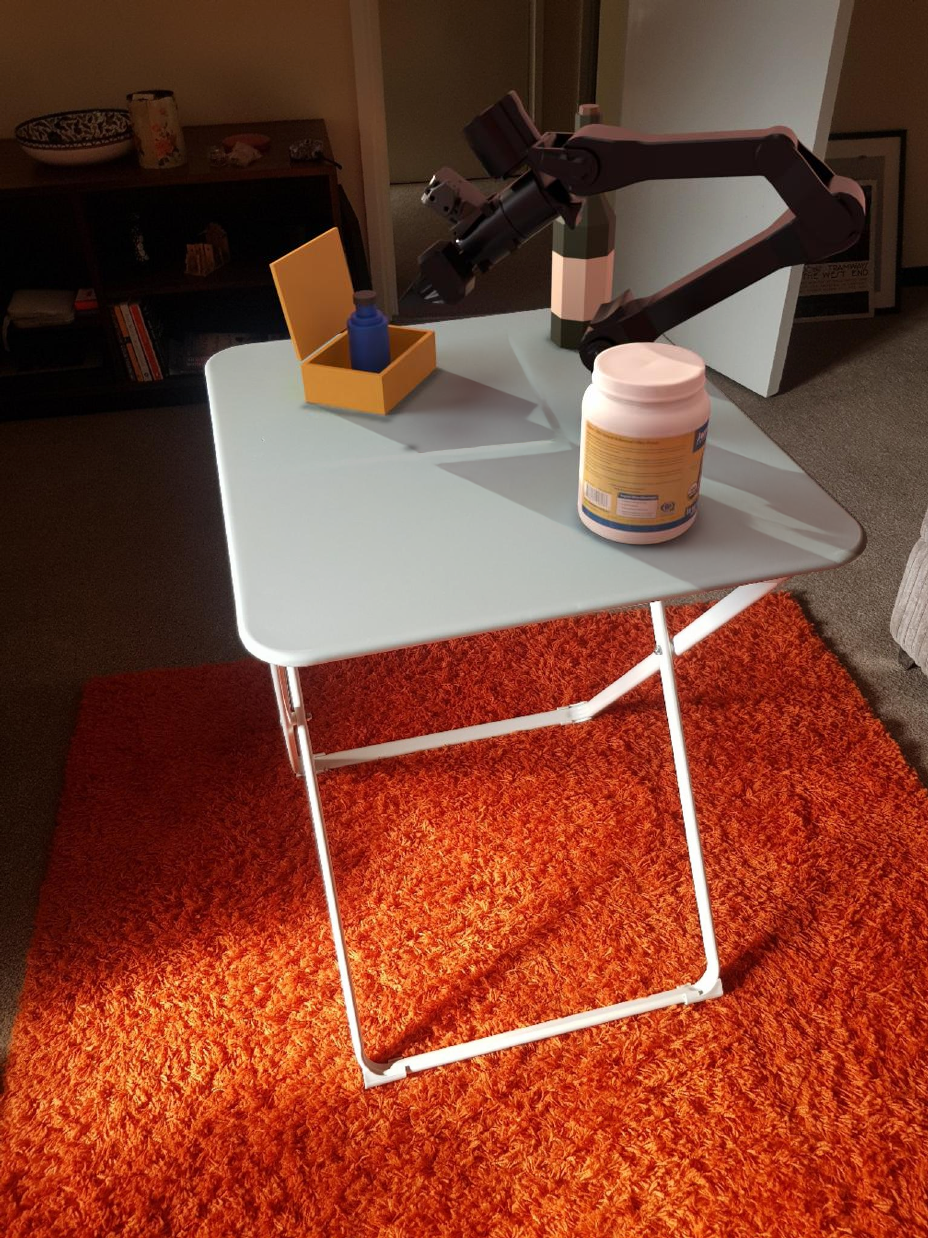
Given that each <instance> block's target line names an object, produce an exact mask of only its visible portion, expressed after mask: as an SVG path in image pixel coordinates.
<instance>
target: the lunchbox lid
mask: <svg viewBox="0 0 928 1238" xmlns="http://www.w3.org/2000/svg"><path fill="white" fill-rule="evenodd" d="M269 268H270V270H271V274H272V278H273V281H274V286H275V288H276V291H277V295H278V299H279V302H280V305H281V308H282V312H283V314H284V319H285V322H286V325H287V328H288V332H289V336H290V338H291V343H292V345H293V349H294V352H295V355H296V356H295V357H296V359H297V361H298V362H304V361H305V360H306V359H308V358H309V357H310V356H312V355H313V354H315V353H316V352H317V351H319V350H320V348H323V347H324V345H327V344H328V343H329V341H330V342H331V341H332V340H333V339H335V338H336V337H337V336H339V335H340V334H342V333H343V332H344V331H346V330H347V320H348V319H349V318H350V317H351V313H352V312H354V311H356V309H355V305H354V303H353V294H354V293H355V291H354V288H353V284H352V280H351V276H350V272H349V268H348V263H347V259H346V255H345V252H344V247H343V244H342V241H341V237H340V232H339V228H338V227H332V228H331V229H329V230H327V231H325V232H324V233H322V234H320V235H319V236H316V237H315V238H313V239H312V240H310V241H308V242H306V243H305V244H303V245H301V246H300V247H298V248H296V249H294V250H292V251H291V252H289V253H286V255H284V256H282V257H280V258H279V259H277V260H275V261H273V262H272V263H270V264H269Z"/></svg>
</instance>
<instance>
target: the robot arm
mask: <svg viewBox="0 0 928 1238" xmlns="http://www.w3.org/2000/svg"><path fill="white" fill-rule="evenodd" d="M458 132H459V134H460V136H461V137H462V139H463V140H464V142H465V143H466V145H467V146H468V147H469V149H470V150H471V152H472V153H473V155H474V157H475V158H476V160H477V161H478V162H479V164H480V166H481V167H482V168H483V170H484V171H485V173H486V175H487V176H488V177H489V179H492V178H494V180H495V181H497V180H499V179H500V178H501V179H502V181H503V182H505V181H506V180H508V179H510V178H511V177H512V176H513V175H514V174H516V173H517V172H518V171H519V170H521V169H522V168H523V167H524V166H525V165H527V166H528V168H529V169H527V171H526V172H524V173H523V174H521V175H520V176H519V177H517V179H515V180H514V181H513V182H511V183H510V184H509V185H508V186H507V187H506V188H504V189H502V190H501V191H499V192H496V191H494V192H493V193H492V194H490V195H489V196H488V197H486V196H485V195H484V194H483V193H482V192H481V191H479V189H478V188H477V187H476V186H475V185H473V184H472V183H471V182H469V181H468V180H467V179H465V178H464V177H463V176H461V175H460V174H458V172H456V171H455V170H453V169H452V168H451V167H448V166H444V167H442V168H440V170H438V171H436V172H435V173H434V174H433V177H432V178H431V180H430V182H429V184H428V185H426V186H425V188H424V190H423V192H424V193H423V195H422V196H421V199H420V200H421V203H422V204H423V205H424V206H425V207H427V208H428V209H431V210H432V211H434V212H435V213H437V214H438V215H439V216H440V217H442V218H443V219H445V220H447V221H448V222H450V223H451V224H454V225H453V226H452V227H451V228H449V231H450V233H451V234H452V235H453V237H452V241H451V240H447V239H442V238H439V239H438V240H437V241H436V242H434V243H433V244H432V245H430V246H429V247H428V248H427V249H426V250H425V251H423V252H421V254H420V255H419V256H417V265H418V268H419V275H418V276H417V277H416V279H414V281H413V282H412V283H411V284H410V286H409V287H408V288H407V290H406V291H404V293H403V294H402V295H401V297H400V298H399V299H398V300H397V304H398V305H399V307H400V308H401V309H402V310H410V309H417V308H423V307H430V306H431V307H432V306H442V305H443V306H444V305H446V306H450V307H452V308H453V307H454V306H456V305H457V304H459V303H460V302H462V301H463V300H464V299H465V298H467V296H468V295H469V294H470V293H471V292H472V290H473V289H474V288H475V283H476V275H475V272H474V271H480V273H481V275H485V274H487V273H488V272H489V271H490V270H491V269H492V268H493V267H494V266H495V265H496V264H497V263H499V262H500V261H502V259H504V258H505V257H506V256H508V255H510V254H511V255H512V254H514V253H516V252H517V251H518V250H519V249H521V247H522V246H523V244H525V243H526V242H527V241H528V240H530V239H531V238H532V237H534V236H535V235H537V234H538V233H539V232H541V231H542V230H543V229H544V228H547V227H548V226H549V225H550V224H553V221H554V220H556V219H557V218H558V217H560V216H561V217H562V219H563V220H564V222H565V223H566V225H567V226H568V228H569V229H570V230H574V229H575V228H576V227H577V225H578V224H579V223H580V221H581V220H582V210H583V206H584V204H585V202H586V200H585V199H584V198H579V197H576V196H582V197H585V196H591V195H596V194H600V193H604V194H605V193H608V192H609V193H610V192H614V191H617V190H620V189H623V188H626V187H629V186H631V185H632V186H633V185H635V184H638V183H643V182H647V181H662V180H663V181H665V180H687V179H689V180H691V179H715V178H717V179H718V178H741V177H743V178H745V177H763V178H765V179H766V181H768V183H769V184H770V185H771V186H772V188H773V189H774V190H775V191H776V193H777V194H778V195H779V197H780V198H781V200H782V201H783V202H784V204H785V205H786V206H787V209H786V210H785V211H784V212H783V213H782V214H781V215H780V216H779V217H778V218H777V219H776V220H775V221H774V222H773V223H772V224H770V225H769V226H768V227H767V228H766V229H763V230H762V231H760V232H759V233H757V234H755V235H754V236H752V237H750V238H749V239H747V240H745V241H744V242H741V243H740V244H738V245H737V246H735V247H733V248H731V249H730V250H728V251H726V252H724V253H723V254H721V255H719V256H717V257H715V258H714V259H712V260H711V261H709V262H707V263H705V264H704V265H702V266H700V267H699V268H697V269H695V270H693V271H691V272H689V273H688V274H686V275H684V276H683V277H681V278H679V279H678V280H676V281H674V282H673V283H670V284H669V285H668V286H666V287H664V288H662V289H660V290H659V291H657V292H656V293H653V294H651V295H649V296H645V297H638V298H635V297H634V294H633V292H632V289H631V288H628V289H627V290H624V292H623V293H621V294H620V295H619V296H617V297H616V298H615V299H613V300H611V302H609V303H603V304H601V305H600V307H599V309H598V310H597V312H596V314H595V316H594V317H593V319H592V321H591V323H590V324H589V327H588V329H587V331H586V332H585V334H584V336H583V338H582V339H581V341H580V346H579V350H578V356H579V359H580V361H581V363H582V365H583V366H584V367H585V368H586V369H587V370H588V371H589V372H590V374H591V375H592V374H593V371H594V362H595V359H596V357H597V356H598V355H599V354H600V353H601V352H603V351H605V350H607V349H609V348H612V347H615V346H619V345H624V344H630V343H655V342H656V341H657V340H658V339H659V338H660V337H661V336H662V335H663V334H665V333H667V332H668V331H670V330H672V329H674V328H676V327H677V326H679V325H681V324H683V323H685V322H687V321H689V320H690V319H692V318H694V317H695V316H698V315H699V314H702V313H704V312H705V311H707V310H708V309H710V308H712V307H714V306H716V305H717V304H719V303H721V302H723V301H725V300H727V299H729V298H730V297H732V296H734V295H736V294H738V293H739V292H741V291H743V290H745V289H746V288H749V287H751V286H752V285H754V284H756V283H758V282H759V281H761V280H763V279H765V278H766V277H768V276H771V275H772V274H773V273H775V272H778V271H779V270H782V269H785V268H789V267H794V266H800V265H805V264H811V263H814V262H816V261H817V262H818V261H820V260H823V259H825V258H829V257H831V256H833V255H836V254H839V253H842V252H844V251H846V250H848V249H849V248H850V247H852V246H854V245H855V244H856V242H858V240H859V239H860V237H861V235H862V233H863V230H864V228H865V225H866V224H865V223H866V197H865V194H864V191H863V189H862V187H861V186H860V185H859V183H858V182H856V181H855V180H853V179H852V178H849V177H846V176H841V175H837V174H836V173H835V172H834V171H833V170H832V169H831V168H830V167H829V166H828V165H827V163H825V161H824V160H822V159H821V158H820V157H819V156H818V155H816V154H815V153H814V152H813V151H812V150H811V149H809V148H808V147H807V146H806V145H805V144H804V143H803V142H802V141H801V140H800V139H799V138H798V136H797V134H796V133H795V132H794V130H793V129H792V128H790V127H788V126H786V125H779V124H777V125H774V126H771V127H767V128H757V129H738V130H717V131H699V132H697V131H696V132H680V133H679V132H678V133H660V134H655V133H654V134H652V133H647V132H640V131H637V130H634V129H630V128H627V127H622V126H616V125H615V126H614V125H608V124H602V125H601V124H591V125H587V126H584V127H582V128H581V129H579V130H578V131H577V132H576V133H575V132H565V131H564V132H563V131H546V132H544V134H543V135H541V133H540V132H539V130H538V129H537V127H536V126H535V124H534V122H533V121H532V119H531V118H530V116H529V114H528V113H527V112H526V110H525V108H524V105H523V102H522V99H520V97H519V96H518V94H517V92H516V91H515V90H510V91H509V92H507V93H506V94H504V96H503V97H501V98H500V99H498V101H496V102H495V103H494V104H492V105H490V106H489V107H487V108H486V109H484V110H483V111H481V112H480V113H479V114H477V115H476V116H475V117H474V118H473V119H471V121H469V122H468V123H467V124H465V126H463V127H462V129H460V130H459V131H458ZM574 195H575V196H574Z"/></svg>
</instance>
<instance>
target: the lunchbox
mask: <svg viewBox="0 0 928 1238" xmlns="http://www.w3.org/2000/svg"><path fill="white" fill-rule="evenodd" d="M388 330H389V342H390V354H391V364H390V365H389V366H388V367H387V368H386V369H384V370H383V371H382V372H381V373H380V374H377V373H370V372H364V371H357V370H352V369H351V360H350V350H349V341H348V332H347V329H345V330H344V331H342V332H341V333H340V334H338V335H337V336H336V337H334V338H333V339H331V340H330V342H327V343H326V344H325V346H324V345H323V346H322V347H321V349H320V348H319V349H318V350H317V351H315V352H314V353H313V354H311V355H310V356H309V357H307V358H306V359H305V360H303V361H302V363H300V369H301V370H300V372H301V378H302V385H303V392H304V399H305V402H306V403H311V404H317V405H323V406H329V407H335V408H341V409H346V410H352V411H358V412H364V413H370V414H375V415H382V416H386V415H387V414H388V413H389V412H390V411H391V410H392V409H394V407H395V406H397V405H398V404H399V403H400V402H401V401H402V400H403V399H404V398H405V397H406V396H407V395H409V394H410V393H411V392H412V391H413V390H414V389H415V388H416V387H417V386H418V385H420V383H422V382H423V381H424V380H425V379H426V378H427V377H428V376H429V375H430V374H431V373H432V372H434V370H435V369H437V367H438V365H437V364H438V363H437V347H436V345H437V344H436V331H435V330H431V329H423V328H417V327H416V328H415V327H409V326H401V325H394V324H393V325H392V324H388Z"/></svg>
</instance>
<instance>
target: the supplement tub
mask: <svg viewBox="0 0 928 1238" xmlns="http://www.w3.org/2000/svg"><path fill="white" fill-rule="evenodd" d="M591 381H592V382H591V383H590V384H589V385H588V386H587V388H586V390H585V392H584V395H583V397H582V403H581V425H580V426H581V427H580V449H579V450H580V451H579V472H578V494H577V495H578V496H577V511H578V516H579V518H580V520H581V521H582V524H584V525H585V526H586V528H588V529H589V530H590V531H591V532H593V533H595V534H596V535H598V536H601V537H602V538H605V539H607V540H610V541H613V542H616V543H622V544H627V545H628V544H629V545H651V544H653V545H654V544H659V543H664V542H667V541H670V540H673V539H675V538H678V537H679V536H681V535H682V534H684V533H685V532H686V531H687V530H688V529H690V527H691V526H692V524H693V523H694V521H695V519H696V516H697V513H698V505H699V497H700V491H701V483H702V475H703V467H704V460H705V452H706V444H707V439H708V438H707V437H708V430H709V422H710V415H711V399H710V396H709V394H708V392H707V390H706V389H705V385H706V362H705V360H704V359H703V358H702V357H701V356H700V355H699V354H697V353H696V352H694V351H692V350H690V349H688V348H684V347H681V346H678V345H674V344H668V343H662V342H661V343H660V342H653V343H630V344H624V345H619V346H615V347H612V348H609V349H607V350H605V351H603V352H601V353H600V354H599V355H598V356H597V357H596V359H595V362H594V371H593V374H591Z"/></svg>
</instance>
